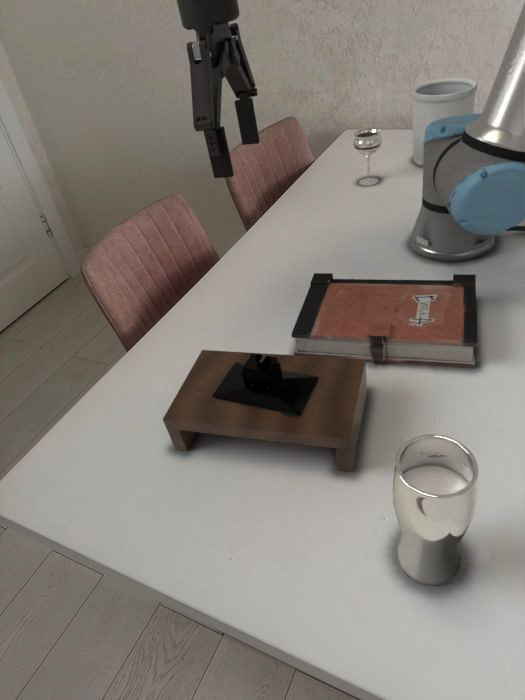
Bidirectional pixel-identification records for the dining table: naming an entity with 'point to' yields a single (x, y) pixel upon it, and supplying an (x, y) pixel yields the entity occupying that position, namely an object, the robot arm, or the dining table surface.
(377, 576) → the dining table surface
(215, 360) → the shelf
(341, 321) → the book
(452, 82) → the utensil holder
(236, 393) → the build plate
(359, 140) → the wineglass
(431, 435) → the beer glass
